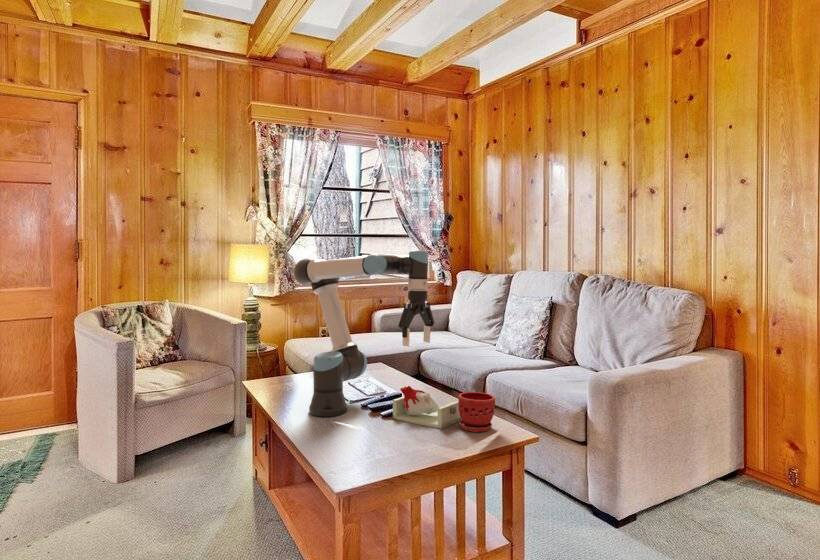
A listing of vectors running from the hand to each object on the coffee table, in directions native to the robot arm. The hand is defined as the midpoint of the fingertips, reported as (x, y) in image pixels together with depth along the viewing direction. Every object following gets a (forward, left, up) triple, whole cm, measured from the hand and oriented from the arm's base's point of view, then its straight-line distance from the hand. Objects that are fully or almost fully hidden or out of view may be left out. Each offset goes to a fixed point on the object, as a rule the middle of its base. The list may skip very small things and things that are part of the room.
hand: (416, 344), depth 200 cm
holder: (+6, -2, -28) cm, 29 cm away
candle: (+6, -1, -27) cm, 28 cm away
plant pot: (+27, -1, -28) cm, 39 cm away
